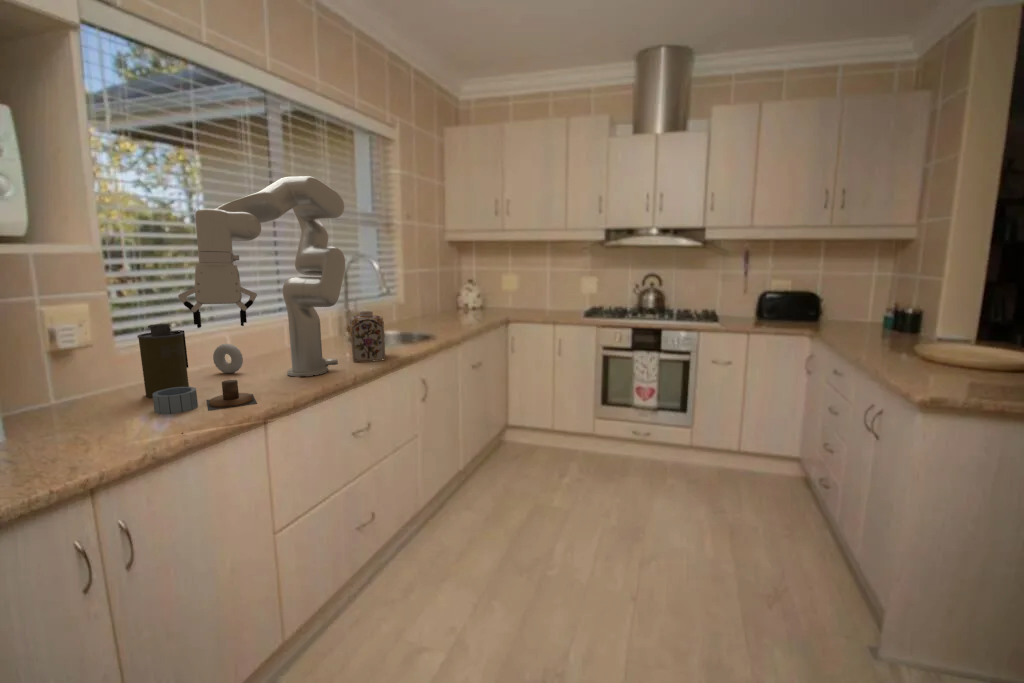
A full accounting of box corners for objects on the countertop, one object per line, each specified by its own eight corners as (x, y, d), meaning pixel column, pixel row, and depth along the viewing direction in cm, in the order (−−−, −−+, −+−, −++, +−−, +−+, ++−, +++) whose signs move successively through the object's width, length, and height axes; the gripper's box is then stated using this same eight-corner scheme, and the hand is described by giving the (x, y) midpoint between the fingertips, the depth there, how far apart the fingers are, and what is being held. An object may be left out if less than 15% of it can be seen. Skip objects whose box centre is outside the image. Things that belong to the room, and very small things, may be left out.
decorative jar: (352, 362, 180) (349, 313, 177) (351, 356, 191) (349, 310, 188) (386, 360, 184) (384, 312, 181) (383, 354, 195) (381, 309, 191)
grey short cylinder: (197, 403, 131) (195, 385, 130) (198, 412, 123) (196, 392, 122) (156, 409, 126) (153, 389, 125) (154, 418, 118) (151, 398, 117)
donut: (212, 374, 162) (209, 344, 161) (219, 371, 166) (216, 342, 164) (239, 375, 161) (236, 345, 159) (246, 372, 164) (244, 343, 162)
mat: (252, 395, 138) (252, 393, 137) (257, 405, 128) (257, 403, 128) (206, 402, 132) (206, 399, 131) (208, 413, 123) (207, 410, 122)
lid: (250, 394, 137) (249, 375, 136) (255, 403, 128) (253, 383, 128) (208, 400, 131) (206, 380, 130) (210, 409, 123) (207, 388, 122)
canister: (160, 402, 131) (150, 328, 128) (136, 397, 135) (127, 325, 132) (200, 392, 141) (192, 322, 137) (177, 388, 145) (169, 320, 142)
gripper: (254, 260, 133) (258, 323, 135) (176, 259, 124) (182, 326, 127) (254, 259, 126) (259, 326, 129) (173, 258, 118) (179, 329, 120)
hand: (221, 326), depth 128 cm, fingers open, 9 cm apart
